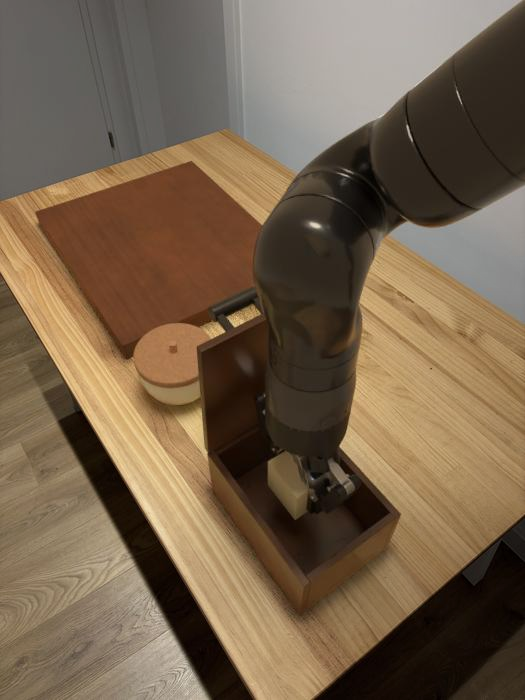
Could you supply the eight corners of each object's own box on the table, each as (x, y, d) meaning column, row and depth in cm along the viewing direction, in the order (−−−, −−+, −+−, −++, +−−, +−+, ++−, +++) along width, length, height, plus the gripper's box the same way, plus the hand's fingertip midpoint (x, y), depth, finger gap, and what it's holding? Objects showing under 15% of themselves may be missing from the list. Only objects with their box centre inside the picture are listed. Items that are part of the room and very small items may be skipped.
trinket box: (207, 351, 83) (202, 306, 76) (227, 406, 76) (223, 362, 69) (136, 369, 81) (124, 324, 74) (150, 427, 74) (138, 384, 67)
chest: (387, 548, 63) (401, 514, 56) (299, 615, 58) (303, 587, 52) (294, 440, 73) (296, 400, 66) (212, 490, 68) (206, 453, 61)
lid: (318, 293, 51) (284, 259, 54) (200, 352, 46) (169, 311, 49) (299, 400, 65) (272, 369, 68) (208, 453, 61) (183, 418, 63)
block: (303, 461, 62) (306, 437, 59) (331, 495, 60) (336, 472, 56) (267, 484, 61) (267, 461, 57) (295, 520, 58) (297, 498, 54)
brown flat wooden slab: (193, 173, 116) (39, 225, 104) (191, 160, 114) (34, 211, 102) (305, 279, 94) (126, 359, 82) (306, 265, 92) (122, 345, 80)
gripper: (400, 428, 45) (370, 520, 57) (293, 324, 52) (287, 425, 65) (328, 476, 42) (313, 561, 54) (226, 359, 50) (234, 457, 62)
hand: (299, 486), depth 60 cm, fingers closed on block, 5 cm apart
